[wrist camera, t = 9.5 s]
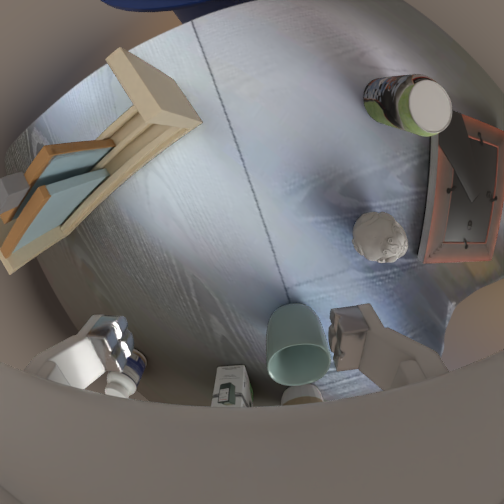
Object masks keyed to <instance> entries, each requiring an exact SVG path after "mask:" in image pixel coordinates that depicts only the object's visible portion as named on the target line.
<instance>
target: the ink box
mask: <svg viewBox="0 0 504 504" xmlns="http://www.w3.org/2000/svg"><path fill="white" fill-rule="evenodd" d="M211 407H253V390H252V387H251V384H250V381H249V378H248V375H247V372H246V368H245V366H244V365H234V366H223V367H218V368H217V374H216V380H215V386H214V392H213V398H212V404H211Z"/></svg>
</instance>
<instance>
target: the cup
mask: <svg viewBox="0 0 504 504" xmlns="http://www.w3.org/2000/svg"><path fill="white" fill-rule="evenodd" d="M330 364H331V354H330V349H329V346H328V342H327V339H326V336H325V333H324V330H323V327H322V324H321V322H320V320H319V318H318V316H317V315H316V313H315V312H314V311H313V310H312V309H311V308H310V307H308V306H306V305H304V304H300V303H290V304H286V305H283V306H281V307H279V308H278V309H276V310H275V311H274V312H273V314H272V315H271V317H270V319H269V322H268V326H267V332H266V366H267V370H268V374H269V375H270V377H271V378H272V379H273V380H274V381H276V382H277V383H280V384H282V385H288V386H300V385H306V384H309V383H312V382H315V381H317V380H319V379H320V378H322V377H323V376H324V375H325V374H326V372H327V371H328V369H329V367H330Z"/></svg>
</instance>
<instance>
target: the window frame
mask: <svg viewBox="0 0 504 504" xmlns="http://www.w3.org/2000/svg"><path fill="white" fill-rule="evenodd" d="M106 61H107V63H108V65H109V66H110V68H111V69H112V71H113V73H114V74H115V76H116V77H117V79H118V81H119V82H120V84H121V85H122V87H123V89H124V90H125V92H126V93H127V95H128V96H129V98H130V100H131V101H132V103H133V104H134V105H133V106H132V107H130V108H129V109H128V110H127V111H126V112H125V113H123V114H122V115H121V116H120V117H119V118H118V119H117V120H116V121H114V122H113V123H112V124H111V125H110V126H109V127H108V128H107V129H106V130H105V131H104V132H103V133H102V134H101V135H100V136H99V137H98V138H97V139H96V140H106V139H112V140H113V142H114V143H115V145H116V147H115V148H114V149H112V150H111V151H110V152H109V153H108V154H107V155H106V156H105V157H104V158H103V159H102V160H101V161H100V162H99V163H98V164H97V165H96V166H95V167H94V168H93V169H92V170H91V171H90V172H89V173H85V174H82V175H78V176H75V177H71V178H68V179H65V180H61V181H58V182H55V183H52V184H49V185H46V186H45V185H43V186H40V187H38V188H37V190H36V191H35V192H34V194H33V195H32V197H31V198H30V200H29V201H28V203H27V204H26V206H25V207H24V209H23V210H22V212H21V213H20V215H19V217H18V218H16V219H14V220H12V221H10V222H8V223H6V224H4V223H3V221H2V219H1V217H0V259H1V261H2V263H3V264H4V266H5V268H6V269H7V271H8V273H9V274H10V275H11V274H12V273H13V272H15V271H16V270H17V269H19V268H20V267H22V266H23V265H24V264H26V263H27V262H28V261H30V260H31V259H33V258H34V257H36V256H37V255H39V254H40V253H41V252H43V251H44V250H46V249H47V248H49V247H50V246H52V245H53V244H55V243H57V242H58V241H60V240H61V239H63V238H64V237H66V236H68V235H69V234H70V233H71V232H72V231H73V230H74V229H75V228H76V227H77V226H78V225H79V224H80V223H81V222H82V221H83V220H84V219H85V218H86V217H87V216H88V215H89V214H90V213H91V212H92V211H93V210H94V209H95V208H96V207H97V206H98V205H99V204H100V203H102V202H103V201H104V200H105V199H106V198H107V197H108V196H109V195H110V194H111V193H112V192H114V191H115V190H116V189H117V188H118V187H119V186H120V185H121V184H123V183H124V182H125V181H126V180H127V179H128V178H130V177H131V176H132V175H133V174H134V173H136V172H137V171H138V170H139V169H140V168H142V167H143V166H144V165H145V164H147V163H148V162H149V161H150V160H152V159H153V158H154V157H156V156H157V155H158V154H160V153H161V152H162V151H163V150H165V149H166V148H167V147H169V146H170V145H172V144H173V143H174V142H176V141H177V140H178V139H180V138H181V137H183V136H184V135H185V134H187V133H188V132H190V131H191V130H192V129H194V128H196V127H197V126H199V125H200V124H202V123H203V122H202V120H201V119H200V117H199V116H198V114H197V113H196V111H195V110H194V109H193V107H192V106H191V104H190V103H189V101H188V100H187V98H186V97H185V95H184V94H183V92H182V91H181V89H180V88H179V87H178V85H177V84H176V82H175V81H174V80H173V79H172V78H170V77H169V76H167V75H166V74H164V73H163V72H161V71H160V70H158V69H156V68H155V67H153V66H152V65H150V64H148V63H147V62H145V61H144V60H142V59H140V58H139V57H137V56H135V55H133V54H132V53H130V52H128V51H127V50H125V49H123V48H121V47H119V48H118V49H116V50H115V51H114V52H113V53H112V54H110V55H109V56H108V57H107V58H106Z"/></svg>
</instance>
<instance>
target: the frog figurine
mask: <svg viewBox="0 0 504 504" xmlns="http://www.w3.org/2000/svg"><path fill="white" fill-rule="evenodd" d="M352 243H353V244H354V248H355V250H356V251H357V252H358V253H359V254H360V255H364V257H365V258H367V259H368V260H371V261H378V262H379V263H385V262H395V261H396V260H397V259H398V258H400V257H402V256H403V255H404V254H405V253H406V251H407V248H408V240H407V237H406V233H405V231H404V229H403V228H402V226H401V225H400V224H399V223H397V222H396V221H395V219H394V218H393V217H392V216H391V215H390V214H388V213H385V212H380V213H379V214H378V213H377V212H370V213H365V214H363V215H362V216H361V217H360V218H358V220H357V221H356V223H355V225H354V228H353V240H352Z"/></svg>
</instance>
